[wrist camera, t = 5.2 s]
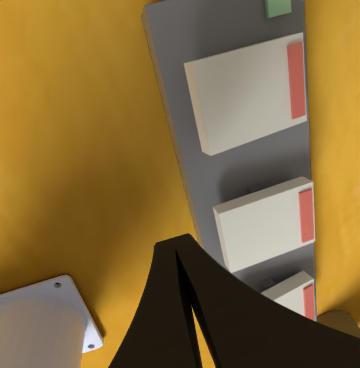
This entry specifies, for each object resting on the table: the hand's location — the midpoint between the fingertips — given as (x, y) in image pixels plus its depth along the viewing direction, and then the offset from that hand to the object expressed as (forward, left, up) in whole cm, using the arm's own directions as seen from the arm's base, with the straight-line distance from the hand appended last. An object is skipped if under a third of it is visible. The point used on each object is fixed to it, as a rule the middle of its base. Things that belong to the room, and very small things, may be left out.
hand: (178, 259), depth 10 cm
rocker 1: (+6, +4, -6) cm, 9 cm away
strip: (+6, -4, -10) cm, 12 cm away
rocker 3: (+6, -12, -6) cm, 14 cm away
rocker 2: (+6, -4, -6) cm, 9 cm away
